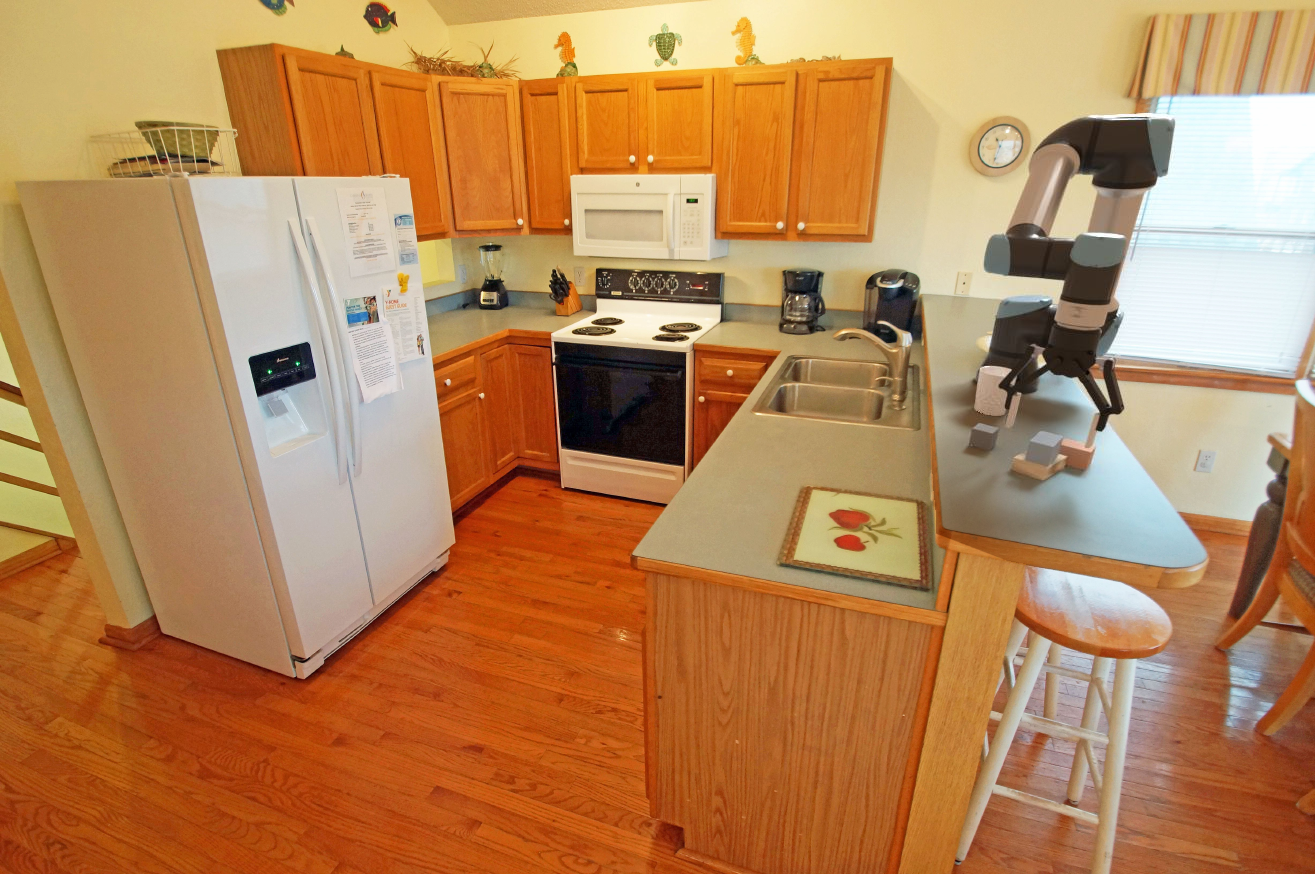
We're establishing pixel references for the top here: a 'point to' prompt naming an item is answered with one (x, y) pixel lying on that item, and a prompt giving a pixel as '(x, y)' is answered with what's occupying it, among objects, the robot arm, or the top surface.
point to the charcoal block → (984, 436)
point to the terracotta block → (1077, 453)
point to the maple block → (1037, 466)
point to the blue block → (1044, 448)
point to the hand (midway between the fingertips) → (1047, 435)
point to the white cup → (991, 391)
